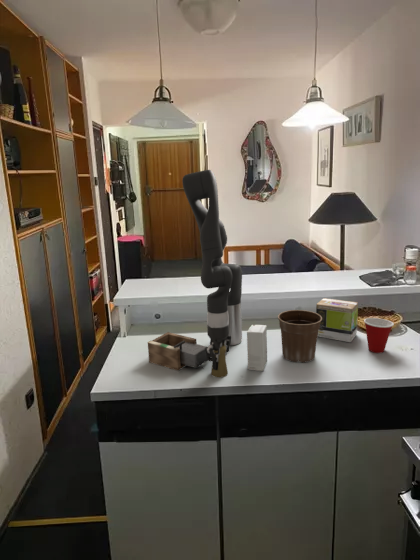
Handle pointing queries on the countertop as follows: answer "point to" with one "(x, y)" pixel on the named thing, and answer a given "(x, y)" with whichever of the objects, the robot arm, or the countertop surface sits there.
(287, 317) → the plant pot
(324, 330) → the tea box
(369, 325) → the plastic cup
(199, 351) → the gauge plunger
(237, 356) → the countertop surface
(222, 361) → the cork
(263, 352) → the skincare box
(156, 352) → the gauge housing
